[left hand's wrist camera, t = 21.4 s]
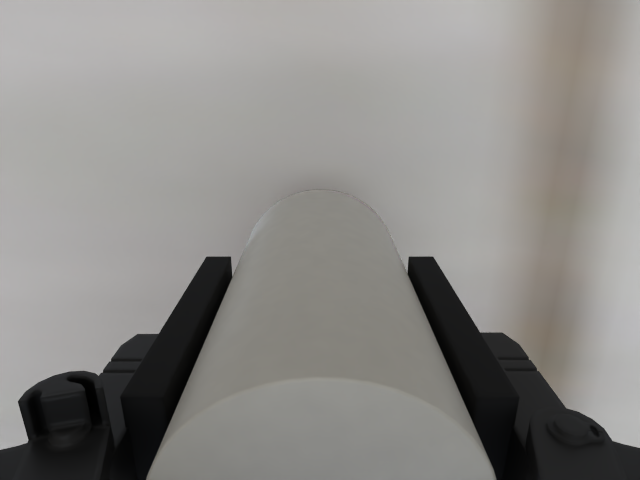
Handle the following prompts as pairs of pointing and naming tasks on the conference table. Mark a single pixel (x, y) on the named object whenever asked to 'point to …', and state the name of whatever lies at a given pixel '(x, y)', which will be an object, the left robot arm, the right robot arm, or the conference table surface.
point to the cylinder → (321, 363)
